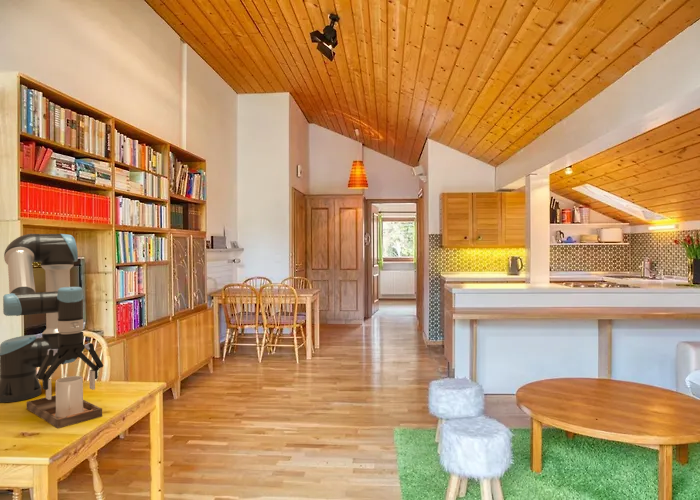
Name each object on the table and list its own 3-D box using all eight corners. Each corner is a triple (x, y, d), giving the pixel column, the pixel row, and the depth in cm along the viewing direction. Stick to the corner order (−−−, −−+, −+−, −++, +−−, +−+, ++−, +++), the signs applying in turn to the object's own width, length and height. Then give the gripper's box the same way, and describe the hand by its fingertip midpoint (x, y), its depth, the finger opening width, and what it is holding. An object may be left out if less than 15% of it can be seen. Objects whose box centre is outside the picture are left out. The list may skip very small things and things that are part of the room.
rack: (26, 408, 166) (26, 400, 166) (68, 399, 177) (68, 391, 177) (57, 428, 147) (57, 419, 147) (102, 416, 158) (102, 407, 158)
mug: (81, 418, 153) (80, 382, 153) (51, 423, 150) (50, 386, 150) (85, 408, 164) (85, 374, 164) (57, 411, 161) (57, 377, 161)
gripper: (31, 339, 145) (32, 405, 146) (113, 328, 165) (113, 387, 165) (24, 336, 150) (24, 400, 150) (103, 325, 170) (104, 383, 170)
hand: (71, 393), depth 158 cm, fingers open, 13 cm apart
